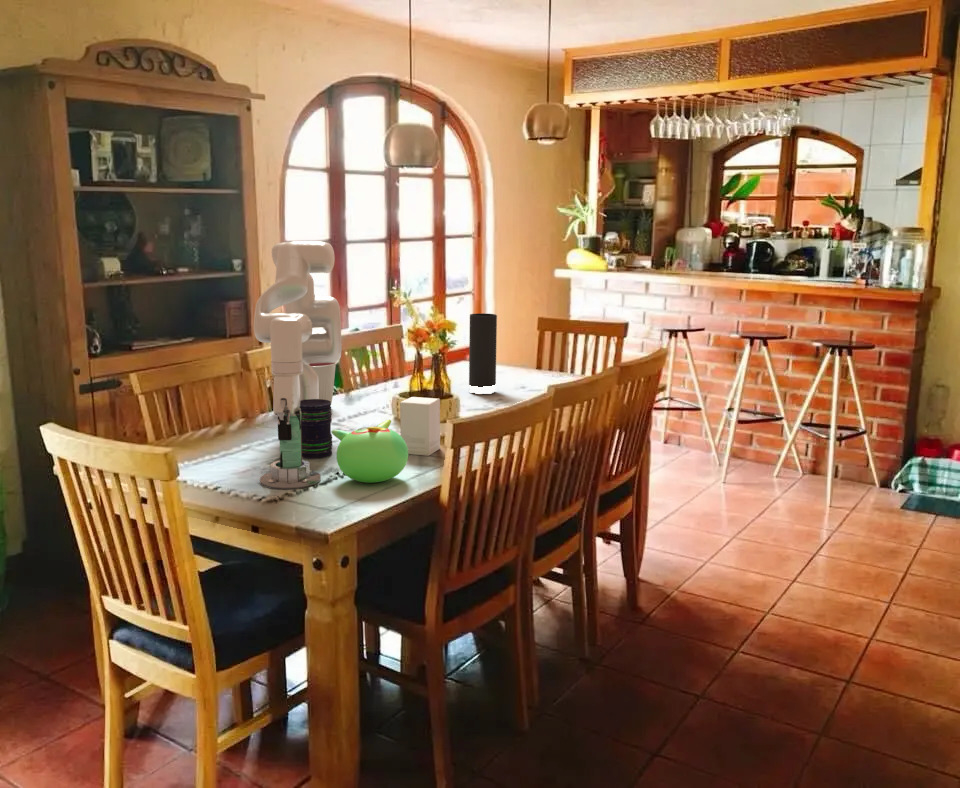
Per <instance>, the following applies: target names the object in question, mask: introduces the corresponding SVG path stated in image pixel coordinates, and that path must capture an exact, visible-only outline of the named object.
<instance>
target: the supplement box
mask: <svg viewBox="0 0 960 788" xmlns="http://www.w3.org/2000/svg"><path fill="white" fill-rule="evenodd" d="M399 407H400V408H399V409H400V410H399V411H400V413H399V417H400V418H399V421H400V436H401V437H402V438H403V439H404V441H405V442H406V445H407V448H408V455H418V456H427V457H429V456H430V455H432V454H434V453H435V452H437V451H438V450H440V449H441V414H440V413H441V399H440V398H435V397H434V398H433V397H419V396H418V397H417V396H411V397H408V398H406V399H404V400H402V401H400V402H399Z"/></svg>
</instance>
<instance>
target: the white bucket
mask: <svg viewBox="0 0 960 788" xmlns="http://www.w3.org/2000/svg"><path fill="white" fill-rule="evenodd" d="M337 364H338V361H337V362H334V363H310V364H309V365H310V366H311V367H312V368H313V370H314V371H315V372H316V374H317V376H318V382H319V399H324V400H329V401H331V404H332V402H333V394H334V388H335V387H334V386H335V374H336V365H337Z"/></svg>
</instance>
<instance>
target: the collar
mask: <svg viewBox="0 0 960 788" xmlns="http://www.w3.org/2000/svg"><path fill="white" fill-rule="evenodd" d="M310 465H311V464H310V461H308V460H307V459H306V460H305V459H302V466H299V467H294V468H281V467H280V459H279V460H275V461H273V462H271V463H270V472H268V473H267V472H266V473H265V474H263V475H261V476H260V478H259V483H260V485H261V486H262V487H265V488H268V489H274V490H295V489H294V488H299V489H303V487H305V488H308V487H313V486H314V485H317V484H318V483H320V482H321V479H322V476H321V474H320V473H319V472H317V471H314V470H312V469H311V468H310V467H311V466H310Z"/></svg>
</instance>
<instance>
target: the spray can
mask: <svg viewBox="0 0 960 788" xmlns="http://www.w3.org/2000/svg"><path fill="white" fill-rule="evenodd" d="M286 405H287V404H286ZM300 410H301V408H298V407H297V408H296V410H295V413H294V414H293V415H291V418H290V424H291V432H292V439H291V440H279V460H280V467H281V468H294V467H299V466H302V460H303V458H302V423H301V411H300ZM286 417H287V416H286Z"/></svg>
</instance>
